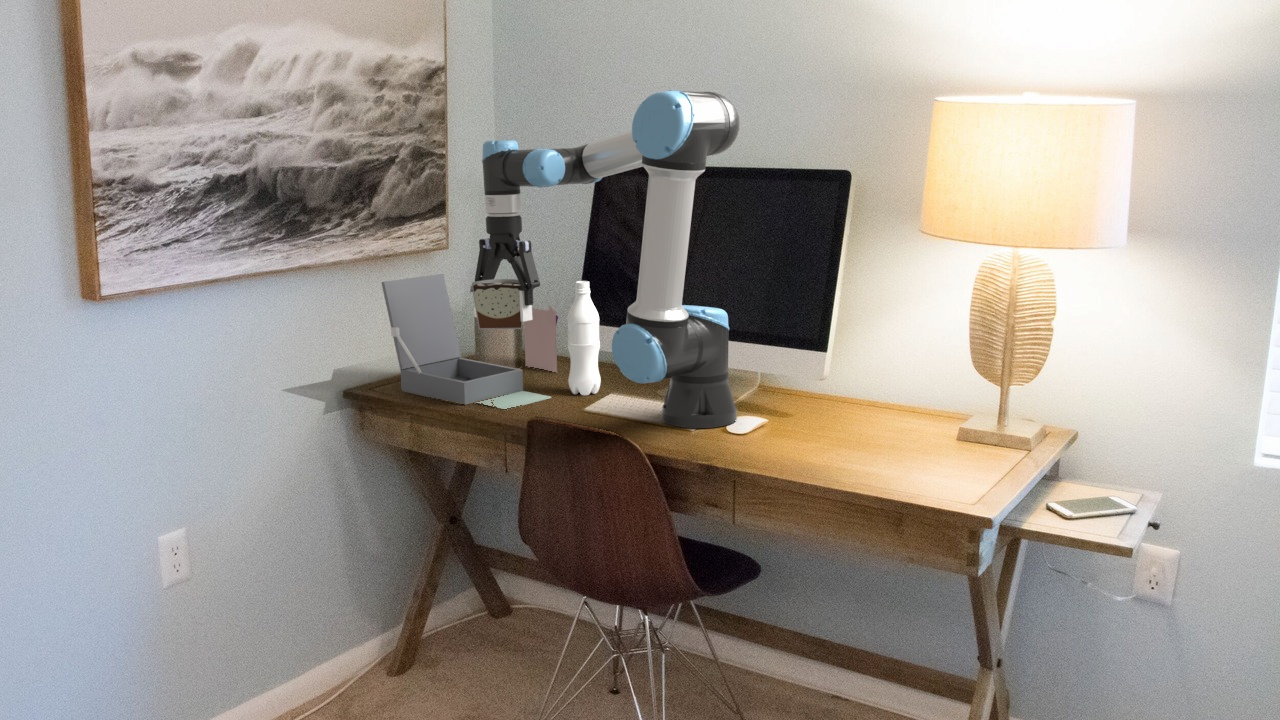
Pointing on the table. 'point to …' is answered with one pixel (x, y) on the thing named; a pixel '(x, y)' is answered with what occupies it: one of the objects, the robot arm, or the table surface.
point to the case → (438, 346)
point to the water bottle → (583, 342)
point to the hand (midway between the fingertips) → (508, 318)
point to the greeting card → (541, 340)
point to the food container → (497, 303)
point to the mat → (515, 399)
